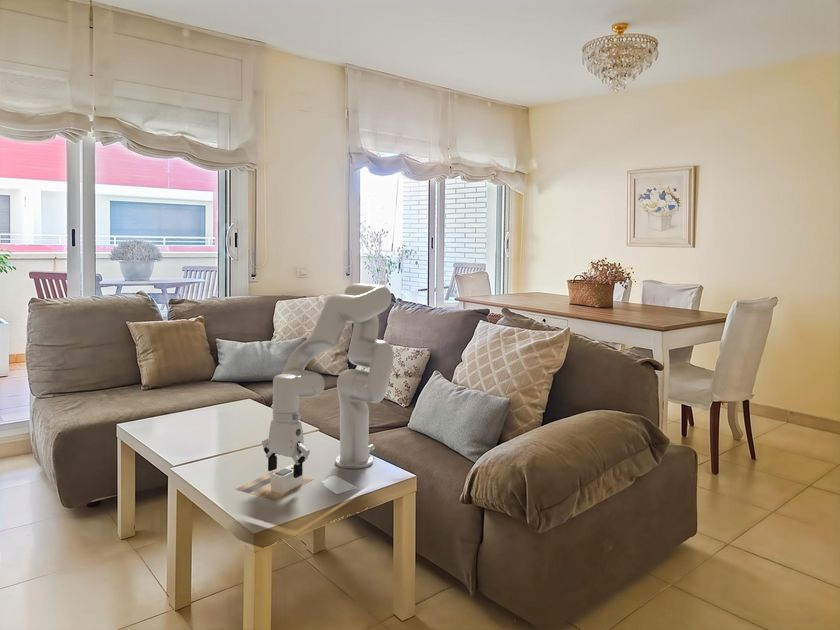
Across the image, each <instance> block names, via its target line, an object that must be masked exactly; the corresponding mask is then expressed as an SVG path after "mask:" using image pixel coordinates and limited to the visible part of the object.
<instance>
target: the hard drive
mask: <svg viewBox="0 0 840 630" xmlns="http://www.w3.org/2000/svg"><path fill="white" fill-rule="evenodd" d="M321 483H323V486H324V487H325V488H326V489H328V490H330V491H332V493H335V494H337V495H339V494H341V493H344V492H349V491H352V490H354V489H358V487H357V486H356V485H353V484H352V483H350V482H349V481H347V480H344V479H343V478H340V476H336V475H331V476H328V477H327V478H325V479H322V480H321Z"/></svg>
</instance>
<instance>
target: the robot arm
mask: <svg viewBox="0 0 840 630" xmlns="http://www.w3.org/2000/svg"><path fill="white" fill-rule="evenodd" d="M391 302H392V293H391V291H390V289H389V288H388V287H387V286H384V285H382V284H371V283H370V284H367V283H351V284H349V285H347V286H346V288H345V290H344V294H333V295H331V296H329V297H328V298H327V299H326V301H325V303H324V306H323V308H322V311H321V312H320V315H319V318H318V320H317V321H316V324H315V326H314V328H313V330H312V333H311V335H310V336H309V337H308V338H307V339H305V340H304V341H303V342H302V343H300V345H298V346H297V347H296V348H295V349H294V350H293V351H292V352H291V354H290V355H289V357H288V358H287V361H286V363H285V364H284V367H283V370H282V372H281V373H280V374H277V375H275V376H274V377H273V380H272V419H271V421H270V425H269V432H268V437H267V438H266V439H264V440H262V441H261V444H262V448H263V452H264V453H265V457H266V458H267V472H273V471H275V470H278V469H277V468H278V457H277V456H283V457H287V458H292V460H293V462H294V463H295V464H293V465H294V472H293V477H294V478H297V477H299V476H301V475H302V467H303V464H304V463H305V461H306V460H307V459H308V457H309V455H310V452H311V451H310V450H309V448H307V446H306V445H304V444H305V443H304V442H305V441H304V433H303V431H304V430H303V426H302V422H301V419H302V416H301V415H300V411H299V409H300V398H301V399H302V398H315V397H318V396H319V395H321V394H322V393H323V392H324V389H325V387H326V382H325V379H324V377H323V375H321V374H320V373H318V372H314V371H310V370H306V369H305V368H306V367H307V365H308V364H309V362H311V360H313V359H314V358H315V357H317V356H319V355H321V354H323V353H326V352H329V351H331V350H333V349H335V348H336V347H337V346H338V344H339V341H340V339H341V337H342V334H343V332H344V330H345V327H346V325H347V324H348V323H350V324H352V323H353V326H352V331H351V332H352V333H351V337H350V342H349V347H348V351H347V359H348V362H350V363H351V364H352V365H355V366H358V367H364V368H368V369H369V371H365V370H361V369H355V368H350V369H345V370H343V371H342V372H340V374H339V375H338V376H337V379H336V391H337V394H338V401H339V455H338V456H337V457H336V458H335V464H336V466H338V467H340V468H342V469H349V470H350V469H351V470H355V469H356V470H357V469H358V470H359V469H363V468H368V467H369V466H371V465H373V463H374V457H373V456H372V455H371V454H370V453H371V451H373V450H375V448H376V446H375V444H373V443H372V444H370V442H369V438H370V437H369V435H370V434H369V431H370V430H369V427H370V424H369V422H370V421H369V420H370V419H369V417H370V416H369V415H370V413H369V411H370V410H369V405H368V403H373V404H378V403H380V402H381V401H383V399H384V398H385V396H386V394H387V392H388V388H389V384H390V379H391V374H392V373H391V372H392V369H393V363H394V358H395V357H394V354H395V353H394V348H393V347H392V345H391V344H390V343H389V342H388V341H386V340H382V339H378V336H379V335H378V334H379V330H380V321H379V317H378V315H380V314H381V313H384V312H385V311H386V310H387V309H388V308H390V305H391Z"/></svg>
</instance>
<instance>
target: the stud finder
mask: <svg viewBox="0 0 840 630" xmlns="http://www.w3.org/2000/svg"><path fill="white" fill-rule="evenodd" d="M278 470H279V471H277V472H275V473H273V474H271V491H274V492H277V493H281V494H284V493H286V492H288V491H290V490H291V489H293V488H295V487H297V486H299V485H301V484H303V476H304V467H303V466H302V475H301V476H299V477H297V478H294V477H293V472H294V464H290V465H287V466H286V467H283V468H281V469H278Z"/></svg>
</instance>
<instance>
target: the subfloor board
mask: <svg viewBox="0 0 840 630" xmlns="http://www.w3.org/2000/svg"><path fill="white" fill-rule="evenodd" d="M279 470H280V469H275V470H272V471H270V472H269V473H266V474H265V475H263V476H261V477H259V478H256V479H254V480H252V481H249V482H248V483H245V484H243V485H242V486H239V487H237V488H235V490H236V491H240V492H244V493H247V494H250V495H254V496H258V497H262V498H264V499H268V500H271V501H276V500H278V499H279V498H281V497H283V496H286V495H287V494H289V493H291V492H292V491H294V490H297V489H298V488H300V487H302V486H304V485H306V484H308V483H310V482H312V481H314V480H315V478H313V477H309V476H304V475H303V484H301V485H299V486H297V487H295V488H293V489H291V490H290V491H288V492H286V493H284V494H281V493H277V492H274V491H271V474H273V473H275V472H277V471H279Z"/></svg>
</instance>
